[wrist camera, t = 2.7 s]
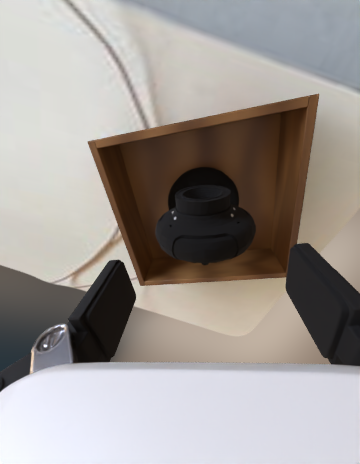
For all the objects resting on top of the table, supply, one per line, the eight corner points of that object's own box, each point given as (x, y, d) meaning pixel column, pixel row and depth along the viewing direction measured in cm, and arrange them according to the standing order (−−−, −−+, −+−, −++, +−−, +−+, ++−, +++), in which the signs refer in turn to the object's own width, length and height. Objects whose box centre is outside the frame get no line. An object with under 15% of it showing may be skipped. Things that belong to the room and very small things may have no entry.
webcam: (241, 162, 18) (280, 192, 9) (237, 229, 21) (262, 297, 13) (163, 169, 19) (132, 202, 10) (172, 232, 22) (154, 297, 14)
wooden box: (287, 103, 16) (319, 93, 11) (274, 249, 23) (292, 277, 18) (113, 138, 18) (87, 141, 14) (150, 260, 25) (140, 286, 21)
